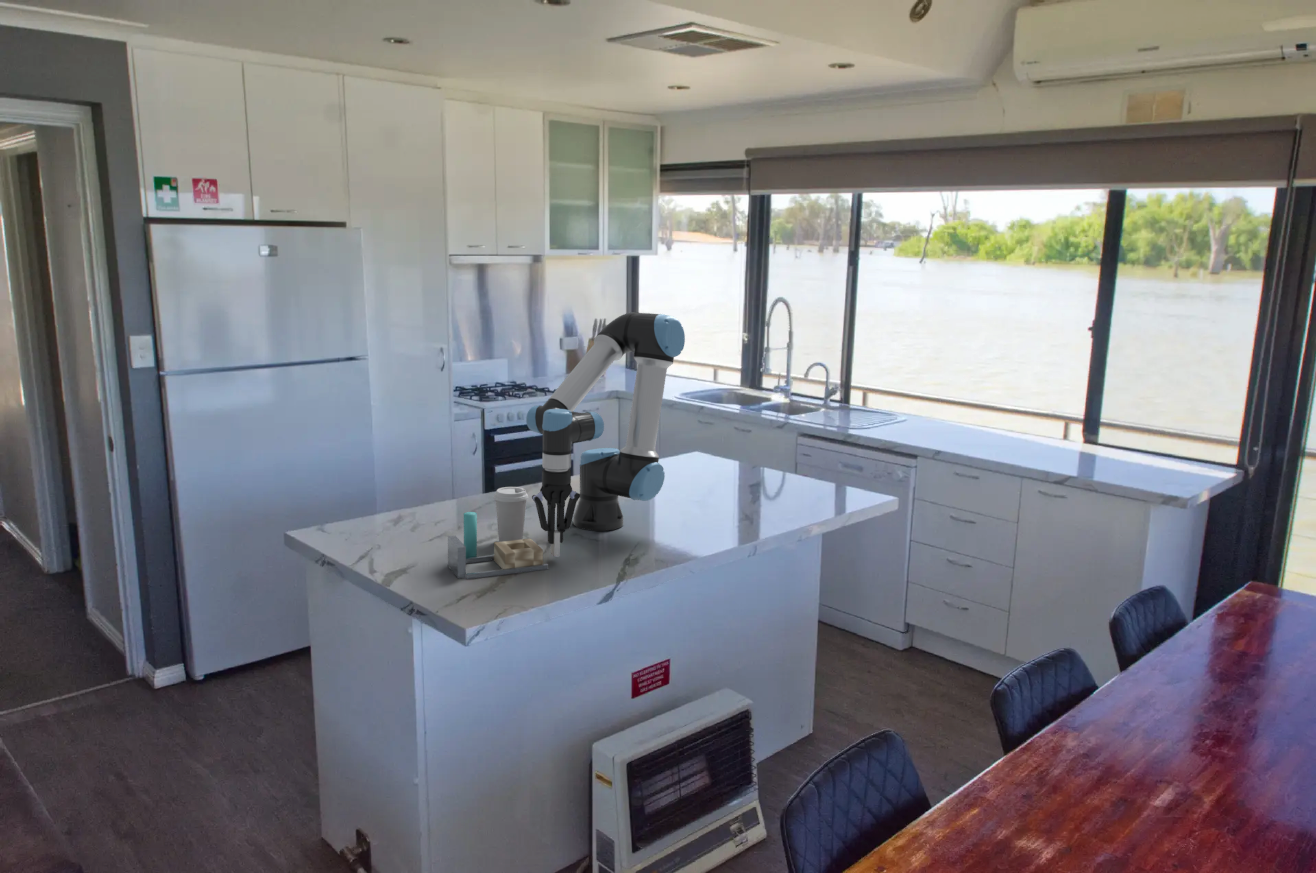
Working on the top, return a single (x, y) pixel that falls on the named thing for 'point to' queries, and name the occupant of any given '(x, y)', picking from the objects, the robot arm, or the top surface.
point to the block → (517, 553)
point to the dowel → (470, 534)
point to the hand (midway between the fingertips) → (555, 554)
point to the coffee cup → (510, 512)
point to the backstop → (459, 561)
